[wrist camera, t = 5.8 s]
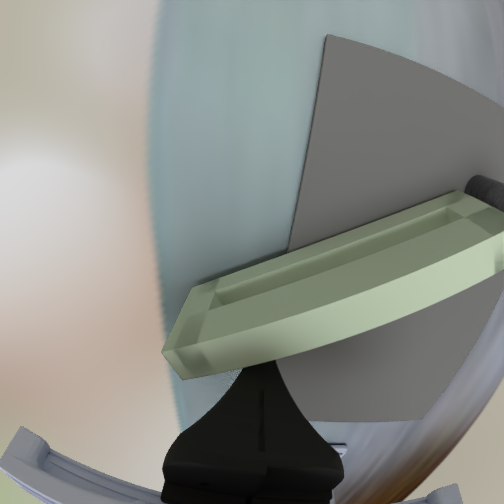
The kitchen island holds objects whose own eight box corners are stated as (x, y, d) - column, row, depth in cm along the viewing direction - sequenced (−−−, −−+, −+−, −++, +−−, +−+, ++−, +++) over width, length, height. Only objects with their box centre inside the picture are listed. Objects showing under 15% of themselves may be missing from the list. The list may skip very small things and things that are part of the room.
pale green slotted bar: (206, 312, 15) (182, 380, 10) (192, 287, 14) (160, 352, 10) (462, 219, 12) (521, 259, 7) (457, 190, 11) (521, 222, 7)
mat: (420, 414, 19) (421, 419, 18) (249, 408, 19) (248, 414, 18) (540, 137, 10) (545, 138, 9) (325, 37, 10) (327, 34, 9)
